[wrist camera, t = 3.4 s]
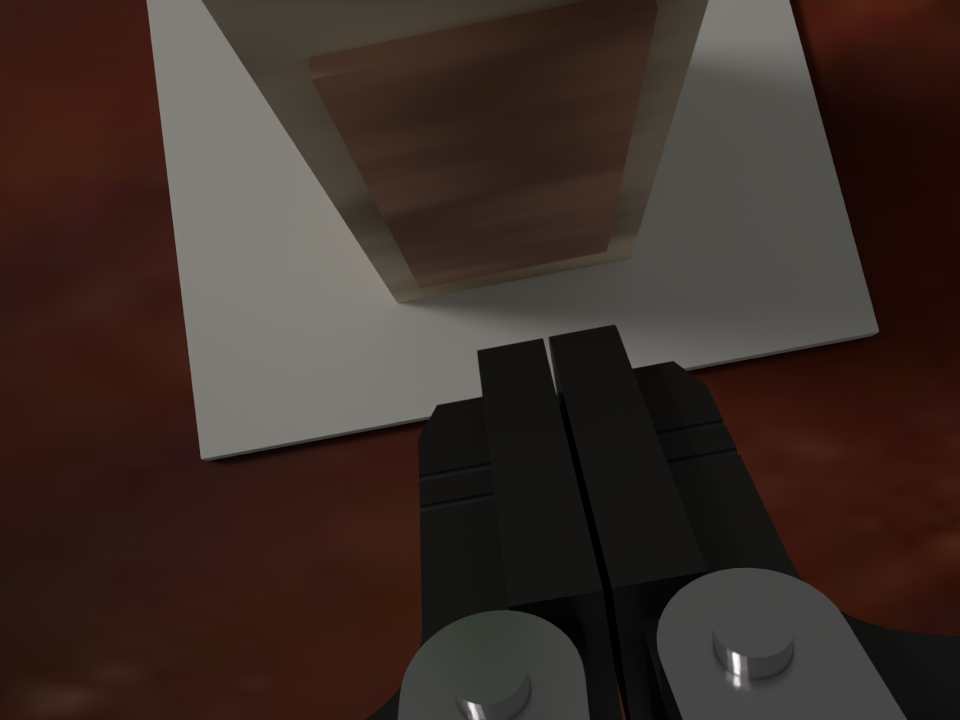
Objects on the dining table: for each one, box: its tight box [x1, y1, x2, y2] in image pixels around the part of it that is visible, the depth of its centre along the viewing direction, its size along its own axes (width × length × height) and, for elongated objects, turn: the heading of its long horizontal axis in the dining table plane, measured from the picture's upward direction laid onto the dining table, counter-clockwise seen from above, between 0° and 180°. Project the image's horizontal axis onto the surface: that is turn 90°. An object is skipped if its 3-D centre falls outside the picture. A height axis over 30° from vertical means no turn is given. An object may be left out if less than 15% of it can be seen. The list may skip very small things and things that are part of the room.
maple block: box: [202, 0, 709, 303], centre depth 17 cm, size 6×6×14 cm
